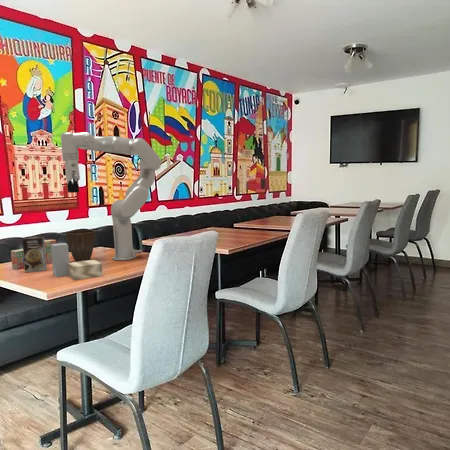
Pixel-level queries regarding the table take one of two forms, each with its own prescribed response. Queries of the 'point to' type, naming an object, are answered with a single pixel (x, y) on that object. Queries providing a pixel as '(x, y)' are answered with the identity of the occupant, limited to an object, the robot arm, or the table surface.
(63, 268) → the grey block
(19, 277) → the table surface
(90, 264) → the beige metal block
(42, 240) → the coffee box
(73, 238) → the plant pot
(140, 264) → the table surface
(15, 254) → the stack of blocks
